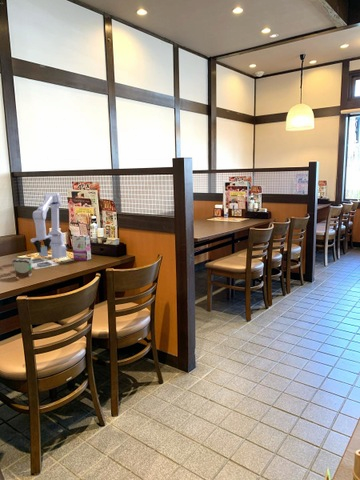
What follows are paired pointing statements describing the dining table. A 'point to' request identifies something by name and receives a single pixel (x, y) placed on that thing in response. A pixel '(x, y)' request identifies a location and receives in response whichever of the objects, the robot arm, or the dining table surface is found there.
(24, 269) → the food container
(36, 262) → the panel
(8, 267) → the dining table surface
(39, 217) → the robot arm
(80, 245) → the candy bar box
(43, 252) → the plug
